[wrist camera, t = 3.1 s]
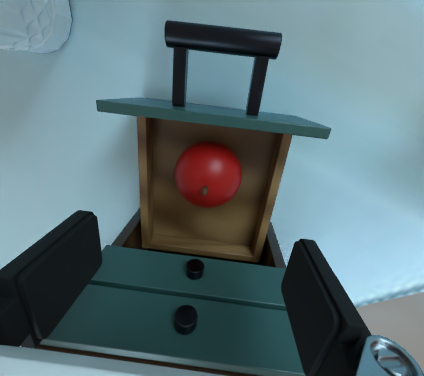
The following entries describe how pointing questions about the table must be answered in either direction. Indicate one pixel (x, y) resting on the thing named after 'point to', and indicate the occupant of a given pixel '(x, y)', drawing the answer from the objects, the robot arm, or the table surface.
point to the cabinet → (183, 311)
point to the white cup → (34, 25)
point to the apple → (208, 174)
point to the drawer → (211, 131)
